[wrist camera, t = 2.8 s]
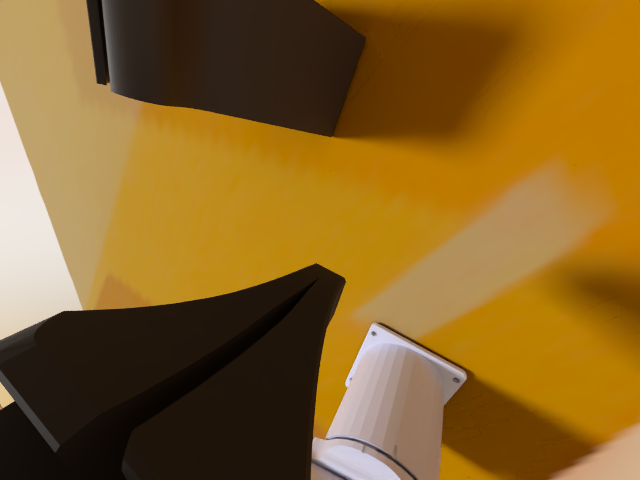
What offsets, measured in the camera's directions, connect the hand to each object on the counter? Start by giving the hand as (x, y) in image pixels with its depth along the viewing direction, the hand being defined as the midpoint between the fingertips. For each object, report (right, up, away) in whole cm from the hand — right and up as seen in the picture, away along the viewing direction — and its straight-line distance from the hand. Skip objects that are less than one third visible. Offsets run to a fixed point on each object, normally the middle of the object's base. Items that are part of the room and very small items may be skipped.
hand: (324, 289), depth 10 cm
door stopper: (-2, +14, +8) cm, 17 cm away
